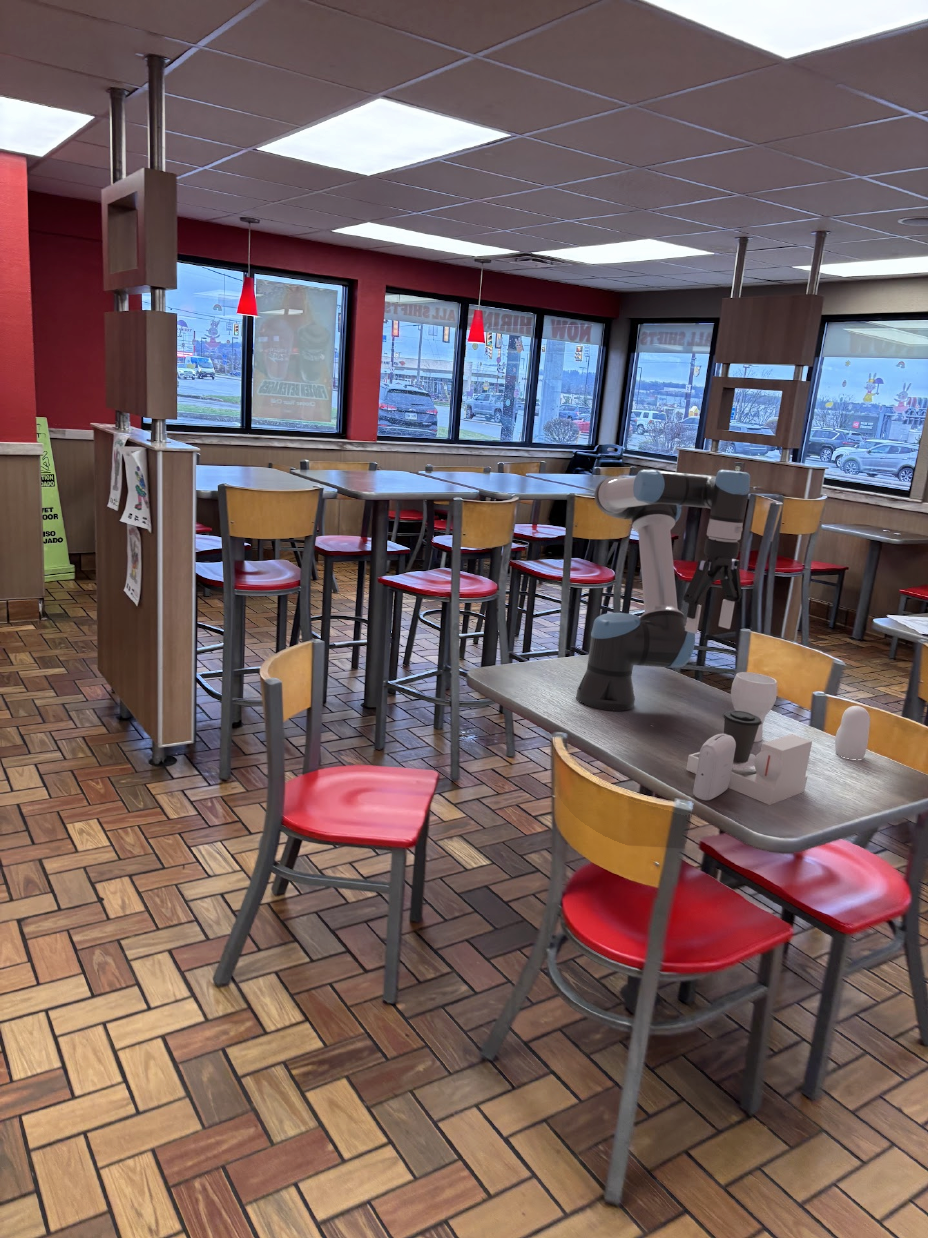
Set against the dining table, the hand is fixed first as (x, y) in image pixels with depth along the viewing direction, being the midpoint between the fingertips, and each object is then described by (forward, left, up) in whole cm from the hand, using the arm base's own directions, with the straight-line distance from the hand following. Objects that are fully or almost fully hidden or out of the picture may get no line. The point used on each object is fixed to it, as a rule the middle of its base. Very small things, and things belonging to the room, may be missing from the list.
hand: (707, 629), depth 211 cm
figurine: (+26, +28, -27) cm, 47 cm away
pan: (+19, -12, -26) cm, 34 cm away
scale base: (+22, -12, -27) cm, 36 cm away
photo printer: (+22, -25, -27) cm, 43 cm away
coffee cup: (+19, -12, -23) cm, 32 cm away
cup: (+6, +15, -27) cm, 31 cm away
